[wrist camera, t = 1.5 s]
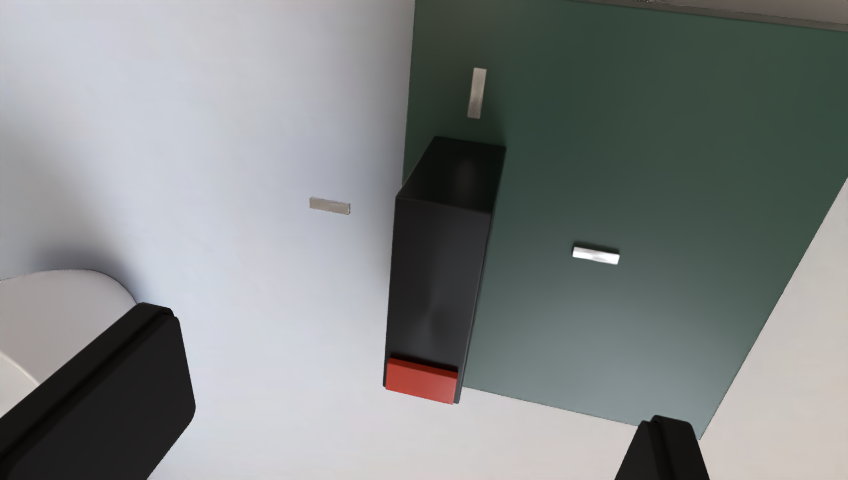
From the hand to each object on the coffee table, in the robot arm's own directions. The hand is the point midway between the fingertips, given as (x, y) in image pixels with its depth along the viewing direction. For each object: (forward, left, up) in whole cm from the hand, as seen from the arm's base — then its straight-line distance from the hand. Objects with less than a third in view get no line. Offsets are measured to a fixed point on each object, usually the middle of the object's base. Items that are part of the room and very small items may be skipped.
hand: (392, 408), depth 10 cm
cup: (+11, -18, -11) cm, 23 cm away
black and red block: (0, 0, -8) cm, 7 cm away
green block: (0, +3, -11) cm, 11 cm away
